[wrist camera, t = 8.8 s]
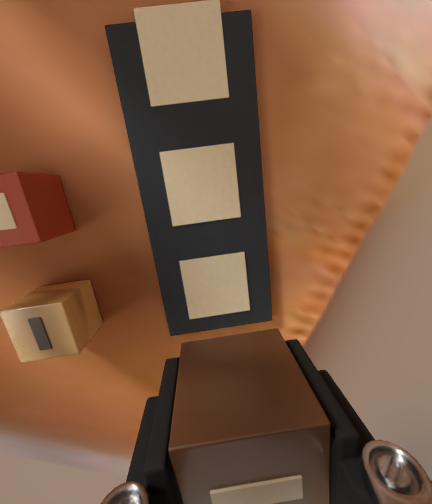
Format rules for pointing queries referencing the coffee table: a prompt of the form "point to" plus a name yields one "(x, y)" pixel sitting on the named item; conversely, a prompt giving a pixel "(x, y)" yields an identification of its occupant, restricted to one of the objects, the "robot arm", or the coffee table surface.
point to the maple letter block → (52, 321)
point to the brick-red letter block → (32, 209)
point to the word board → (197, 159)
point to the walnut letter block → (247, 425)
